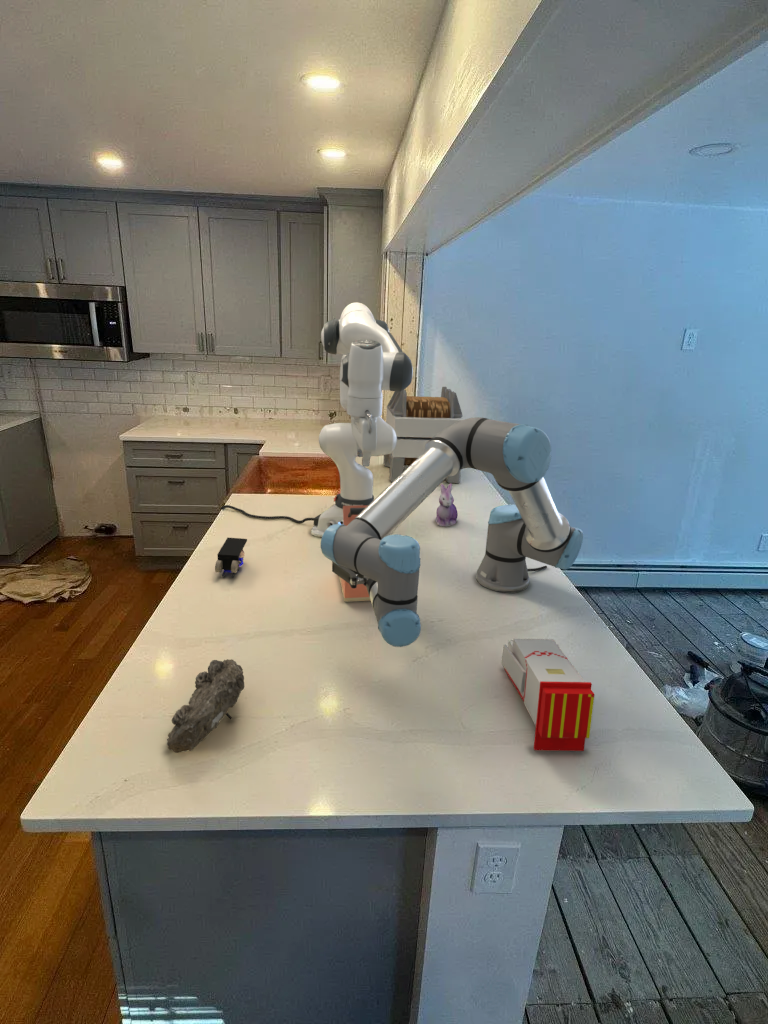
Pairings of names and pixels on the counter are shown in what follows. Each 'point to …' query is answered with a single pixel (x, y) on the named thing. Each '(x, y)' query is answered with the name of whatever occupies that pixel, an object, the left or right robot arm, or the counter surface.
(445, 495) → the figurine
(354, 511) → the lid
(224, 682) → the fossil
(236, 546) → the figurine character
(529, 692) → the toy
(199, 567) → the counter surface
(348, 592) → the chest
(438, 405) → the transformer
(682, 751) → the counter surface
